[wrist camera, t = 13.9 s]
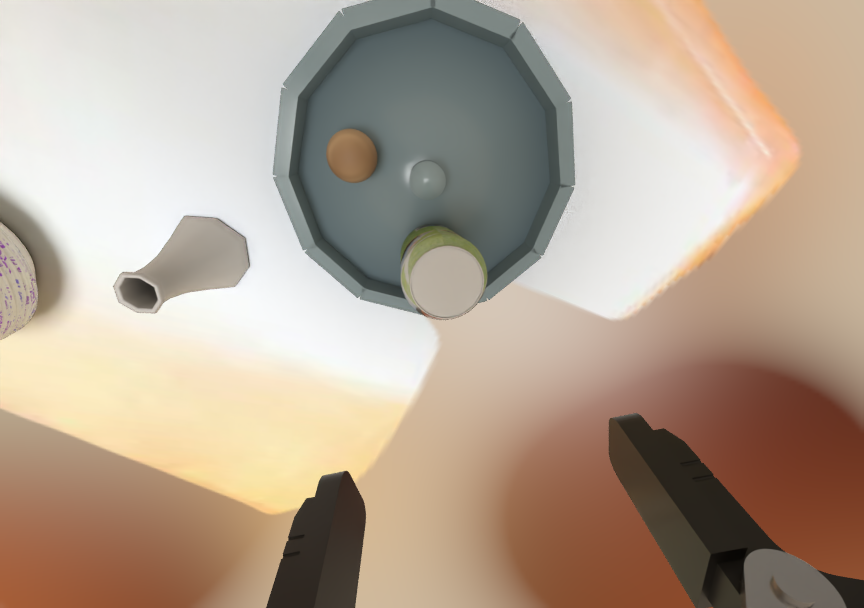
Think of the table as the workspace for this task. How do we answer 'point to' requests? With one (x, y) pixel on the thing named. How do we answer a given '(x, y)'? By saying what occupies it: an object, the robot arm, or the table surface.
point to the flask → (186, 265)
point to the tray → (425, 141)
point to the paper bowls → (15, 284)
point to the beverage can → (441, 272)
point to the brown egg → (351, 155)
